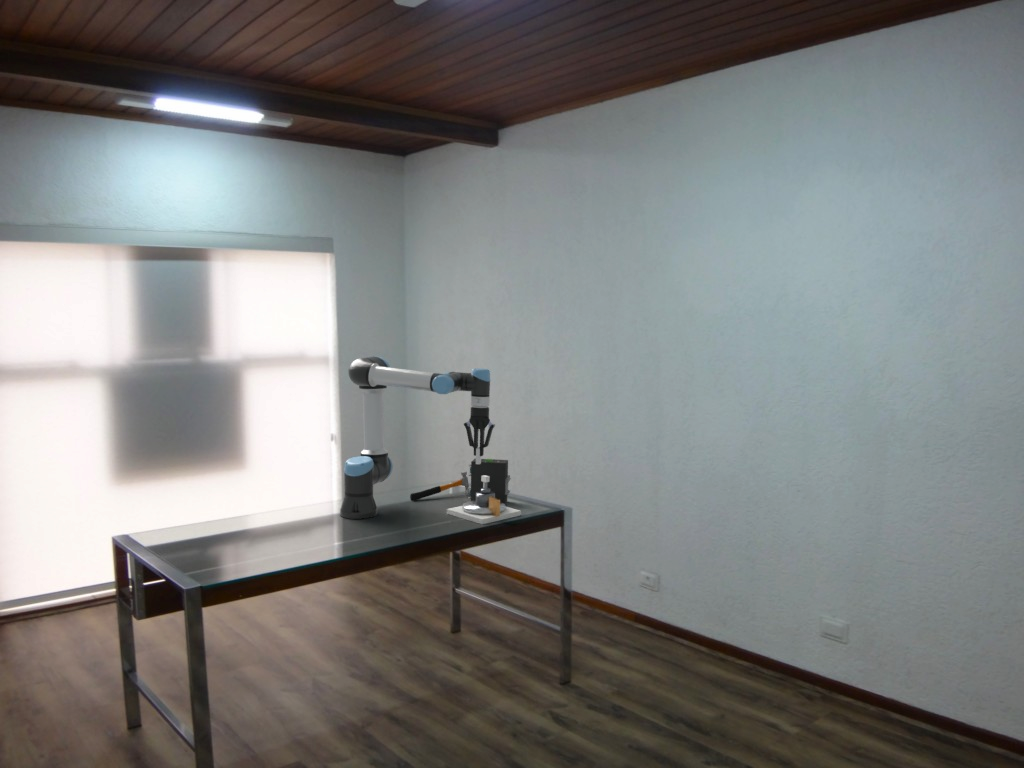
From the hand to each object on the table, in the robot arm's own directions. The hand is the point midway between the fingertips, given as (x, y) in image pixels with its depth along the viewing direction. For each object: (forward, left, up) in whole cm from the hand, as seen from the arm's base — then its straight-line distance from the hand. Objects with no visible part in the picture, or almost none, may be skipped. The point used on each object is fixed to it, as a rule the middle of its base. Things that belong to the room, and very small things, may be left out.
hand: (478, 463), depth 331 cm
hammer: (-39, +12, -23) cm, 47 cm away
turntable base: (-3, +6, -23) cm, 24 cm away
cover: (-3, +7, -19) cm, 20 cm away
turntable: (-1, +6, -21) cm, 21 cm away
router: (-17, +22, -23) cm, 36 cm away
